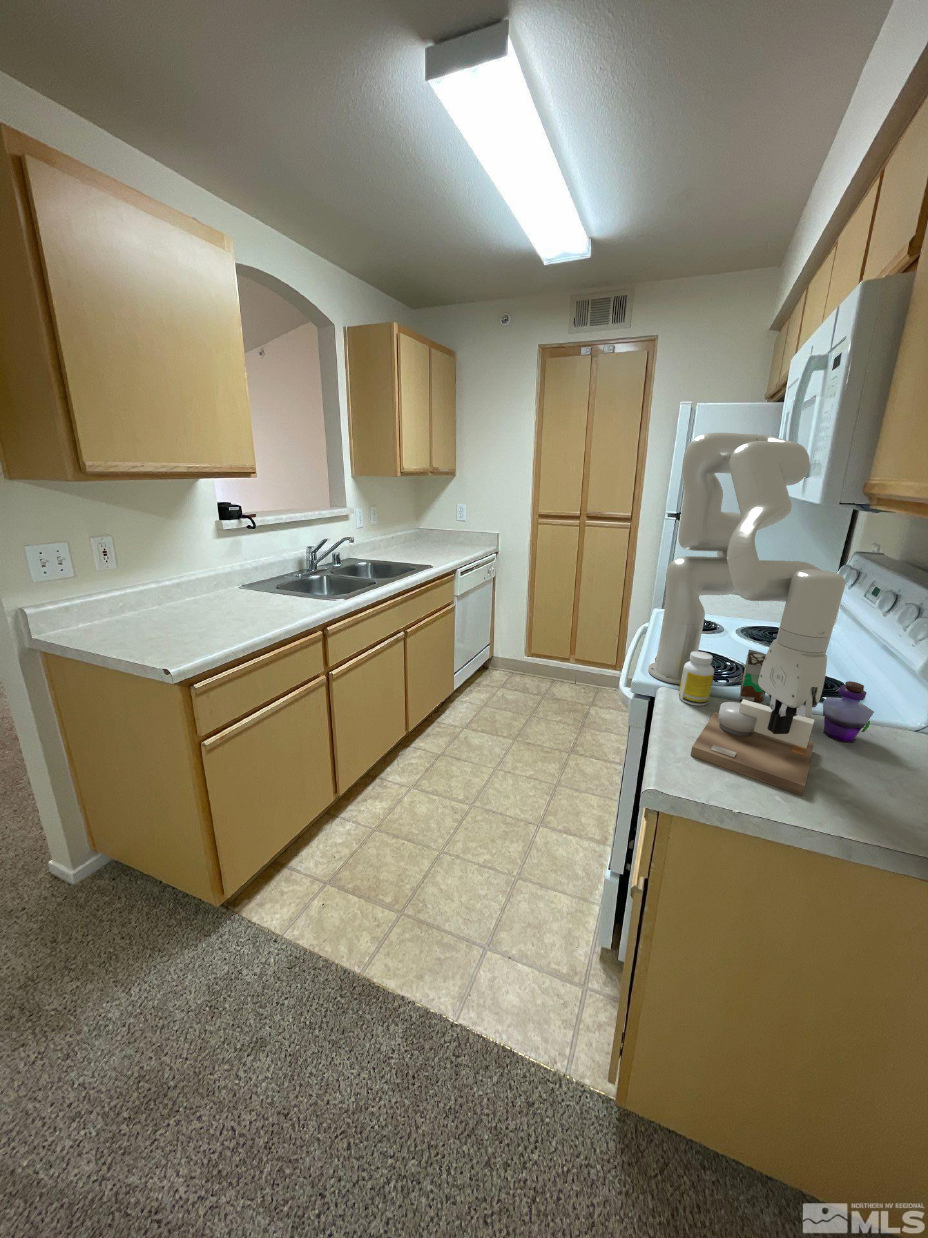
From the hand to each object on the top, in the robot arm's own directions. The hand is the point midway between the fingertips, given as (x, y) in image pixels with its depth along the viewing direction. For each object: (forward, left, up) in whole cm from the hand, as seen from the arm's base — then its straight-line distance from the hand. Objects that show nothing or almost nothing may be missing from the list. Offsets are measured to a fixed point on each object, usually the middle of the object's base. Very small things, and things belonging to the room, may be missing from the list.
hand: (777, 731), depth 91 cm
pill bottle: (-15, -18, -6) cm, 25 cm away
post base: (+1, -3, -6) cm, 7 cm away
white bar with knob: (-3, -3, -2) cm, 5 cm away
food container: (-27, -7, -6) cm, 29 cm away
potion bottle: (-19, +10, -6) cm, 23 cm away
